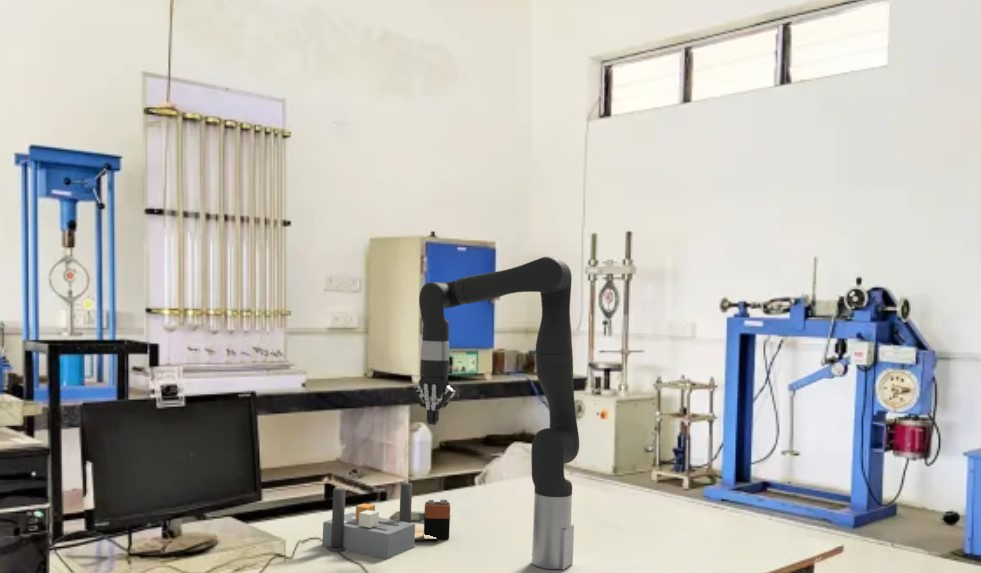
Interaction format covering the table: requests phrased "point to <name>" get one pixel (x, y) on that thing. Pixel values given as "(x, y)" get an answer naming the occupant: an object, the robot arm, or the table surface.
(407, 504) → the post
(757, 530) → the table surface
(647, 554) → the table surface
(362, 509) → the toggle orange
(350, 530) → the box
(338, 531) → the post
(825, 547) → the table surface
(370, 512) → the white ridged block
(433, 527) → the battery
